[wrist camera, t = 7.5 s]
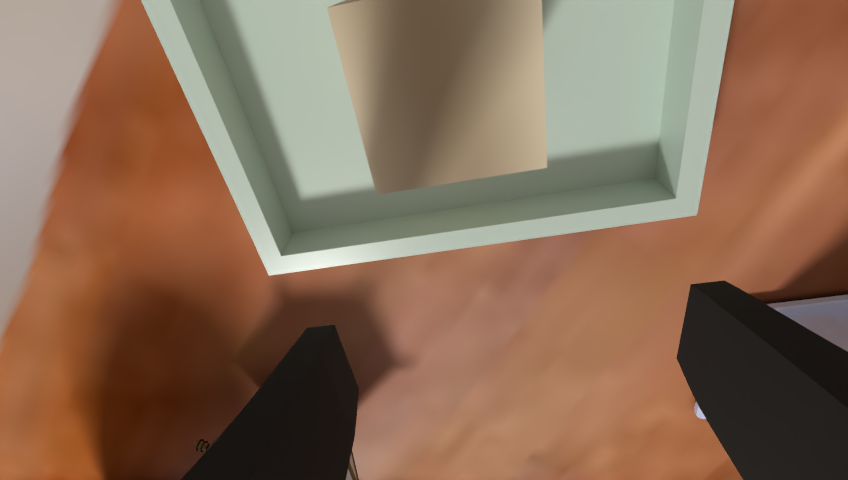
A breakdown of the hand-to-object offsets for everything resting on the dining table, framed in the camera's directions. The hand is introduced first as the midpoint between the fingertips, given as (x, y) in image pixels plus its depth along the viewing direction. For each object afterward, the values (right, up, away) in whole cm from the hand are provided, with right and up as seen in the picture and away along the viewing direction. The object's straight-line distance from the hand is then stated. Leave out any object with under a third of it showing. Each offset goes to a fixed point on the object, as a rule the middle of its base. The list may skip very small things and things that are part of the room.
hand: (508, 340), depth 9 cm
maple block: (-1, +8, +5) cm, 10 cm away
